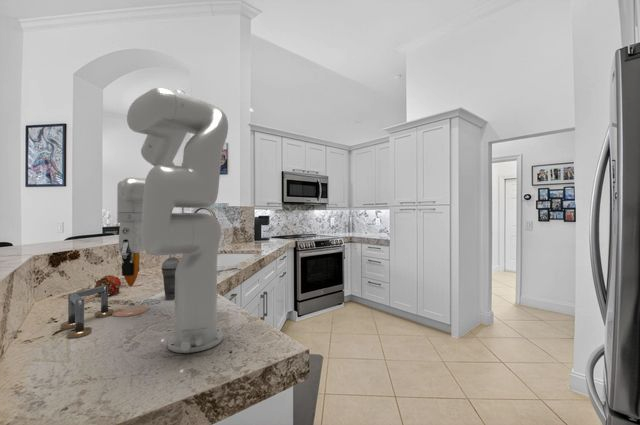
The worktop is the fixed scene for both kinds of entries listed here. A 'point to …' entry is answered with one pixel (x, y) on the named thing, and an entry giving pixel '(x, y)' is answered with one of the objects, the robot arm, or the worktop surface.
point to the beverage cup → (169, 276)
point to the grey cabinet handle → (78, 311)
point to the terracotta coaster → (130, 311)
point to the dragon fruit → (109, 283)
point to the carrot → (132, 278)
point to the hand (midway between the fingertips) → (130, 273)
